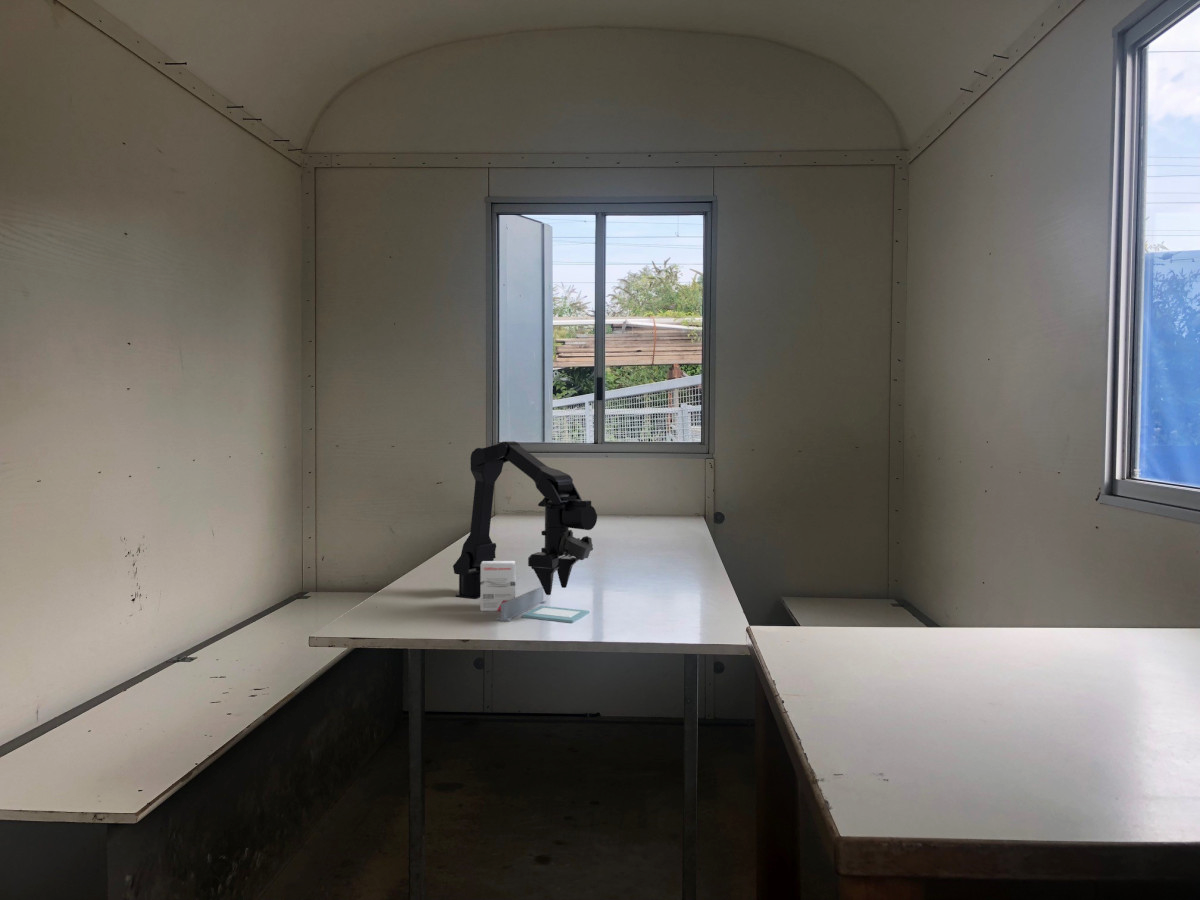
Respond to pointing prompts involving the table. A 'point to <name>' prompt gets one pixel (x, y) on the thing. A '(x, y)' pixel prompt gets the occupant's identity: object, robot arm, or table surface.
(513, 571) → the ink box
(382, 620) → the table surface
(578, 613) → the teal picture frame
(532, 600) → the grey long bar
